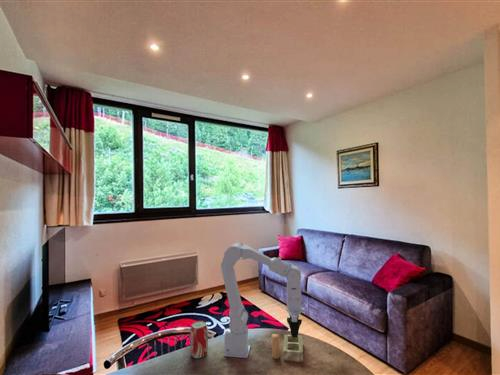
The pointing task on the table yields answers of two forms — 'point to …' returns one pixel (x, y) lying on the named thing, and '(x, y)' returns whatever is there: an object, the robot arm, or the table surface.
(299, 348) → the hole block
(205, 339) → the soda can
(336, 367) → the table surface
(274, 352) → the peg
